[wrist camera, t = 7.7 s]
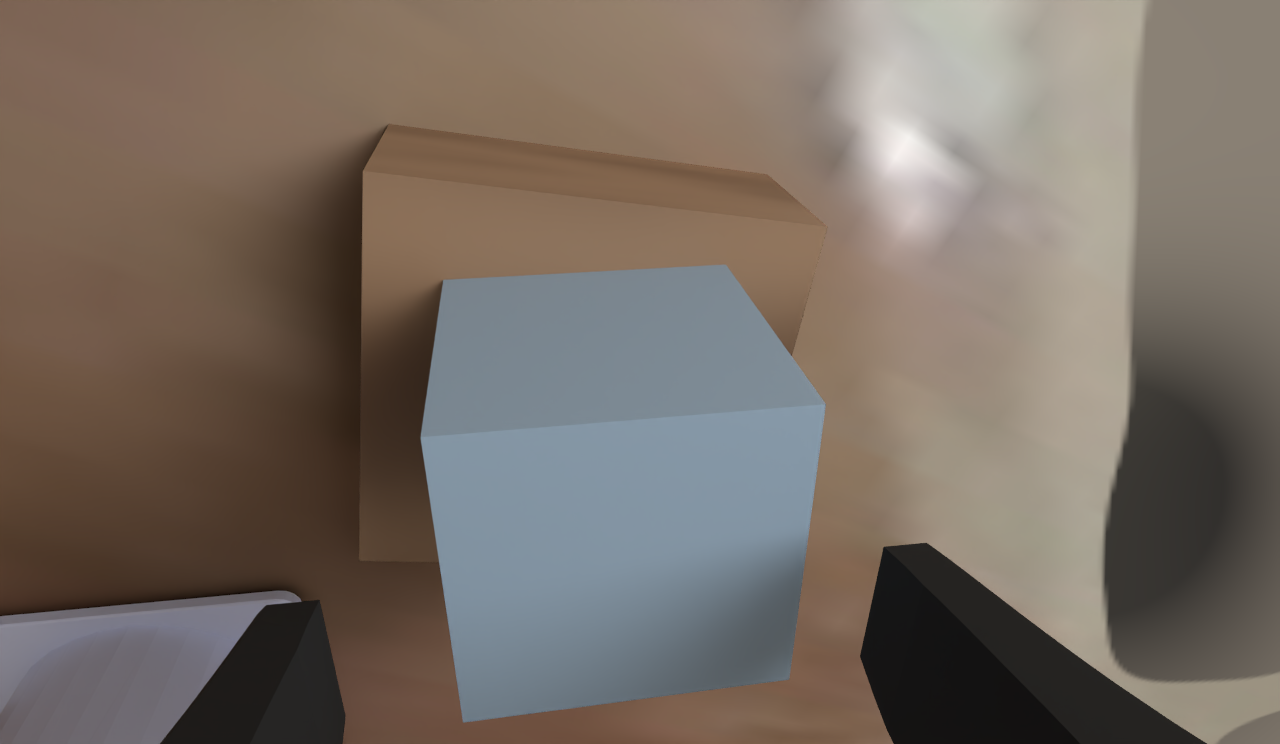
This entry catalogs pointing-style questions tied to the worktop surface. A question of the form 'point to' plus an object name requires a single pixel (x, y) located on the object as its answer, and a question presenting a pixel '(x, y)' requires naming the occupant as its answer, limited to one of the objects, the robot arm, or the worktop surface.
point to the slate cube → (616, 487)
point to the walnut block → (532, 269)
